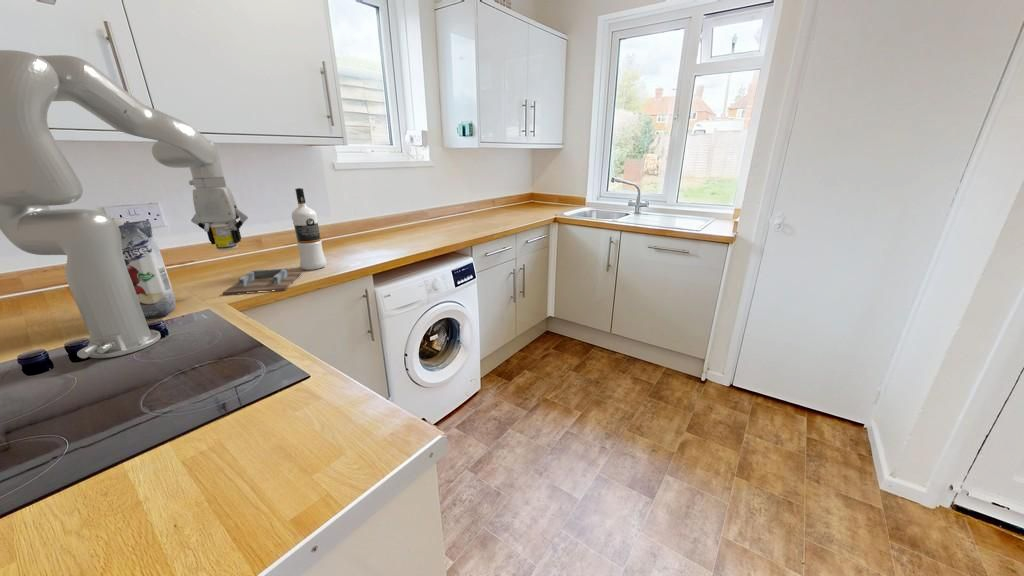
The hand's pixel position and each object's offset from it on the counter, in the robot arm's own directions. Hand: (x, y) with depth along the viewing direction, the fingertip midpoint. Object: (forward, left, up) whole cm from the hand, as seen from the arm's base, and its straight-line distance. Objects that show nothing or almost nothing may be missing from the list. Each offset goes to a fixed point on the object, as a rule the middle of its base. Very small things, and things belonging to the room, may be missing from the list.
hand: (226, 242), depth 123 cm
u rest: (+4, -7, -16) cm, 18 cm away
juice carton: (-18, +14, -16) cm, 28 cm away
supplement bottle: (0, 0, -2) cm, 2 cm away
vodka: (+22, -18, -16) cm, 32 cm away
